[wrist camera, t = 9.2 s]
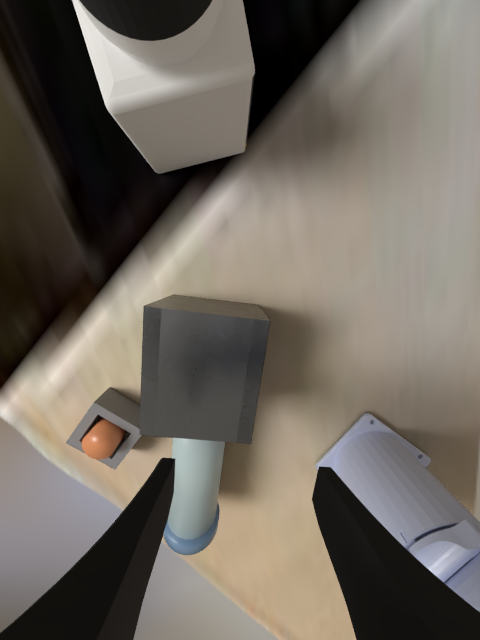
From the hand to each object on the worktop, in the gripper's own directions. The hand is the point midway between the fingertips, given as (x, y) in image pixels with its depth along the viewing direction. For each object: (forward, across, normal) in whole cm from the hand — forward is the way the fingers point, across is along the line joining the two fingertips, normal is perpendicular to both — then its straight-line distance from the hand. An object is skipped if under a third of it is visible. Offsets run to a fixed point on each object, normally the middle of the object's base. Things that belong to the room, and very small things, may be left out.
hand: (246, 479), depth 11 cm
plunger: (+10, +11, +5) cm, 16 cm away
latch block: (+10, +11, +5) cm, 16 cm away
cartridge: (+10, +3, +6) cm, 12 cm away
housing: (+10, +3, -3) cm, 11 cm away
